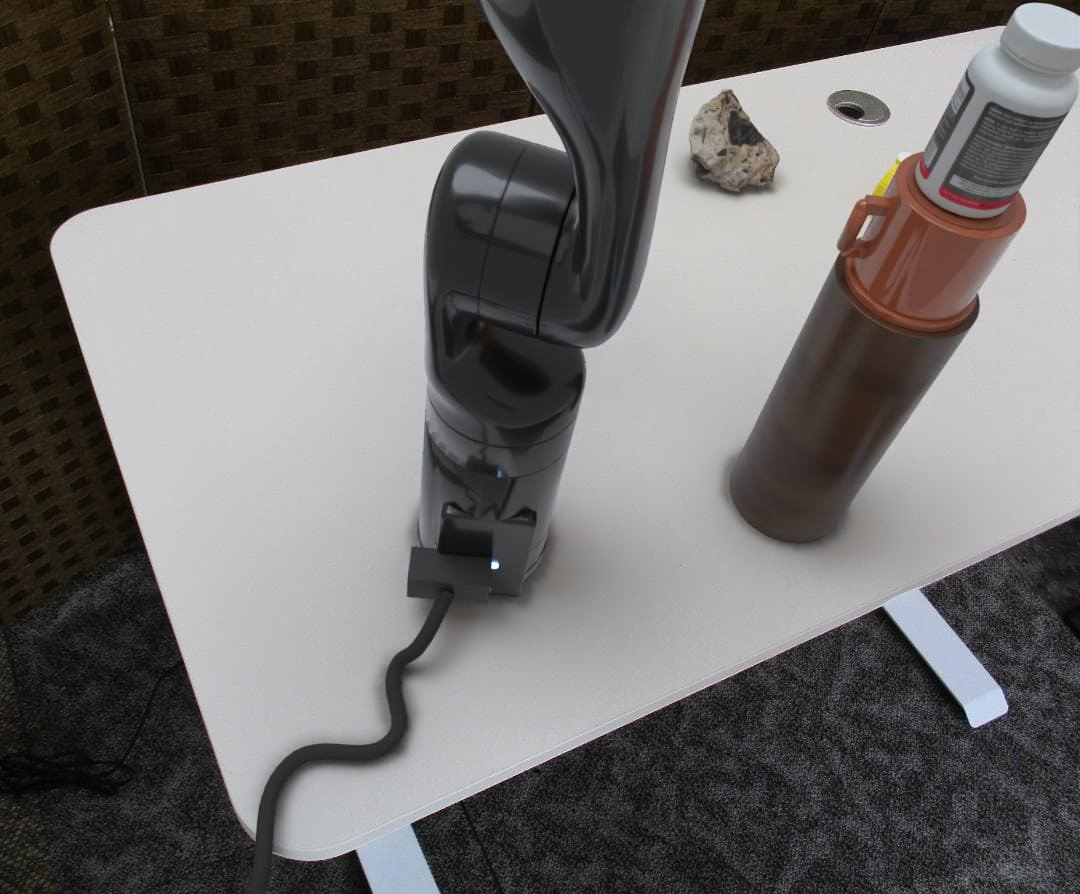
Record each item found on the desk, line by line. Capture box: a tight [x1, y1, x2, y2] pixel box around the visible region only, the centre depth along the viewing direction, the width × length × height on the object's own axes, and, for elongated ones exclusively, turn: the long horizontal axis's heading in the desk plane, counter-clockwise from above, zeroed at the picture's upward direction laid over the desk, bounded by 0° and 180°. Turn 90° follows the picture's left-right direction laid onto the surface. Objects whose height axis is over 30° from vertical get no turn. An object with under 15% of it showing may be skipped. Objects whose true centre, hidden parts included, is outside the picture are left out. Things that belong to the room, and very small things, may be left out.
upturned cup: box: [836, 150, 1027, 332], centre depth 57 cm, size 8×9×7 cm
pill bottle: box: [915, 2, 1080, 218], centre depth 51 cm, size 5×5×10 cm
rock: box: [688, 88, 781, 192], centre depth 100 cm, size 9×7×10 cm
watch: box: [871, 151, 914, 197], centre depth 100 cm, size 6×3×6 cm, turn 126°
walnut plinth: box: [729, 236, 981, 544], centre depth 69 cm, size 9×9×23 cm
